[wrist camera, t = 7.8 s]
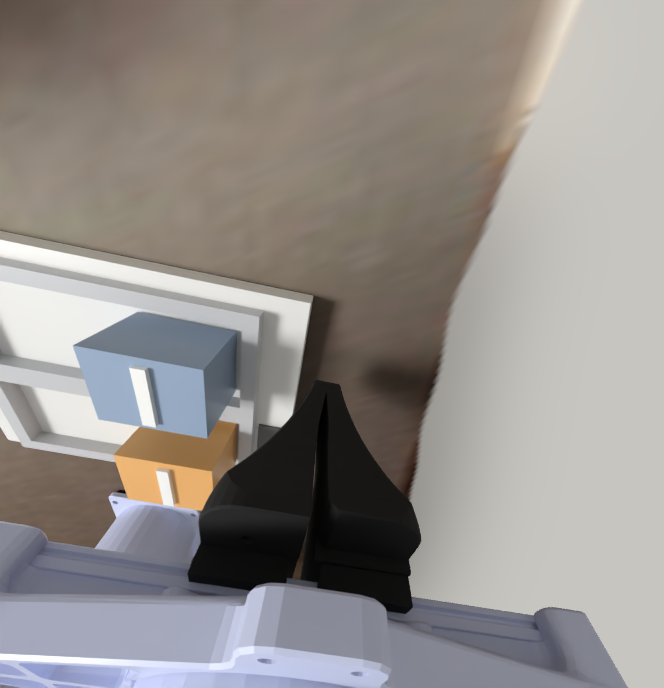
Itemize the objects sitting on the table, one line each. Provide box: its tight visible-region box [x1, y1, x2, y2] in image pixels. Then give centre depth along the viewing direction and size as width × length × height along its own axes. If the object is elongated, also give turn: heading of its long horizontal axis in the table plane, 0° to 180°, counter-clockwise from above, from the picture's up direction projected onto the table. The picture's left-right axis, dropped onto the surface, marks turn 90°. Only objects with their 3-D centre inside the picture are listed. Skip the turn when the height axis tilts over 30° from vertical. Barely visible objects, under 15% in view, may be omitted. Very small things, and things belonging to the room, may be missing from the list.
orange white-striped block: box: [113, 420, 237, 511], centre depth 15 cm, size 4×5×4 cm
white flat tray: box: [0, 231, 313, 465], centre depth 16 cm, size 15×20×2 cm
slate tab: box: [73, 312, 237, 439], centre depth 12 cm, size 4×5×4 cm
